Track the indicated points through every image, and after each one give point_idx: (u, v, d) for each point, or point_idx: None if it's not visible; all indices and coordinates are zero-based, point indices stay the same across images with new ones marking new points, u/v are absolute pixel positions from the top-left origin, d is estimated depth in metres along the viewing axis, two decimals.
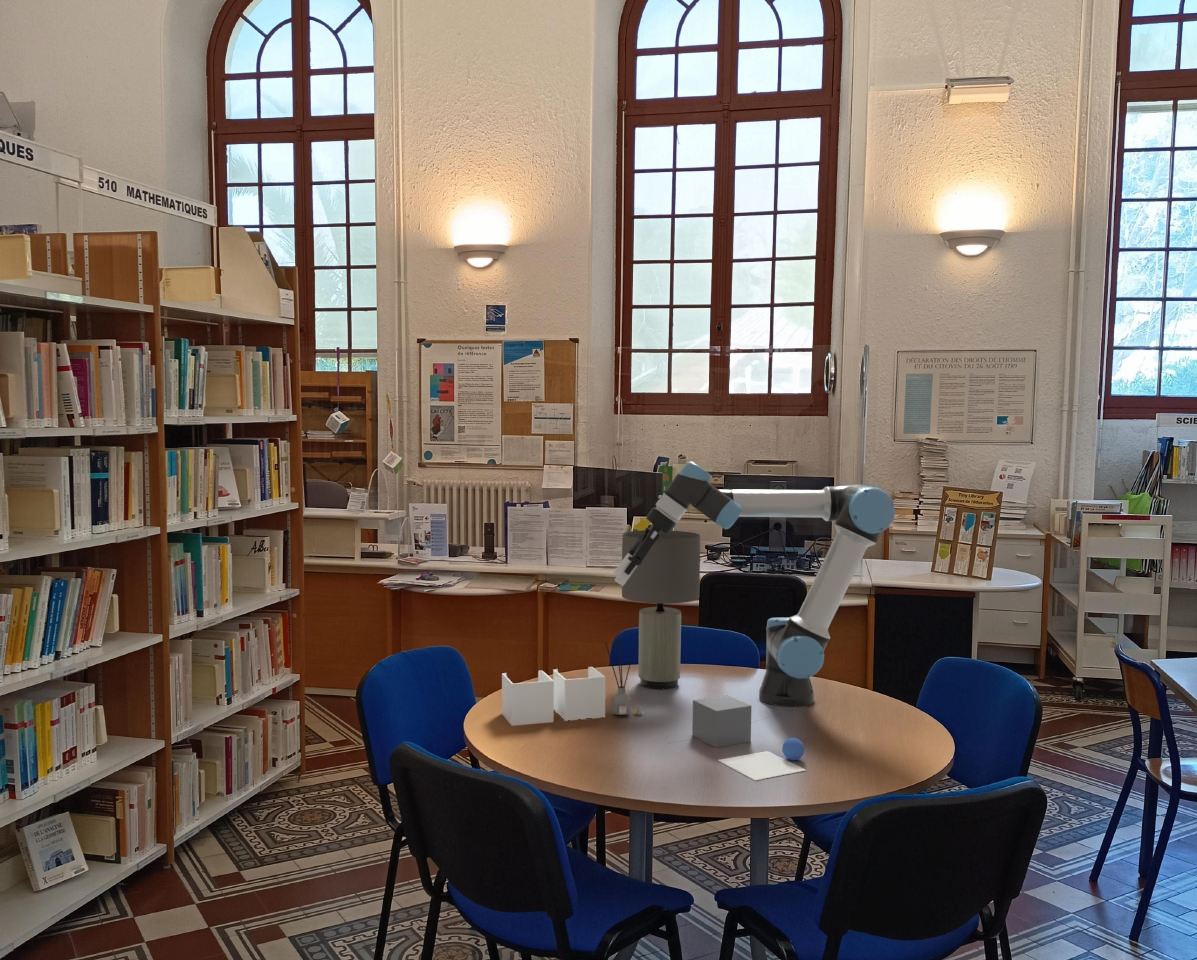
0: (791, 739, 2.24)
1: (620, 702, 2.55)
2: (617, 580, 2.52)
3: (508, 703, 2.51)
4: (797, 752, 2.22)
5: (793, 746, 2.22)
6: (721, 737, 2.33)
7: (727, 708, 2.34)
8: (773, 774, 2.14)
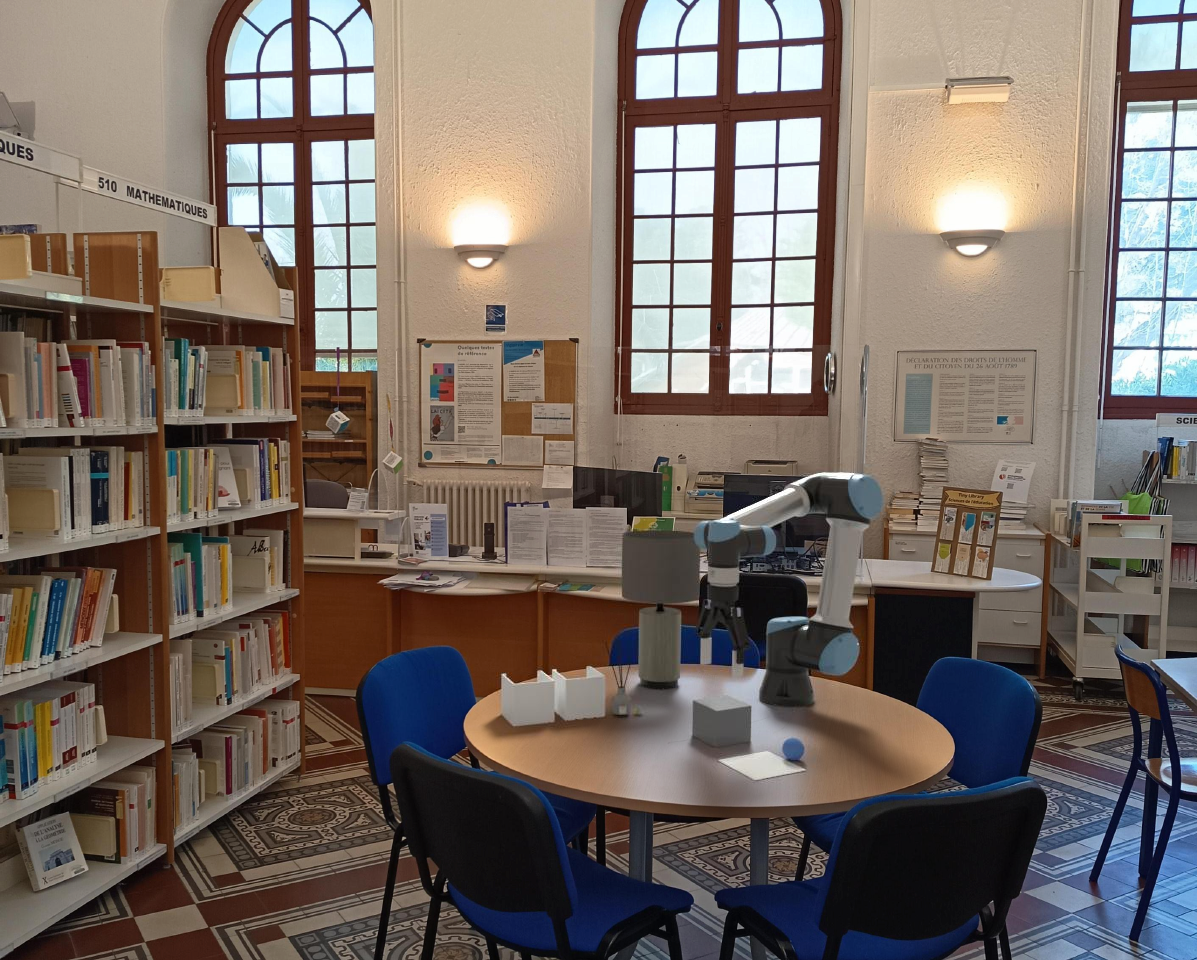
0: (791, 739, 2.24)
1: (620, 702, 2.55)
2: (736, 675, 2.32)
3: (509, 704, 2.50)
4: (797, 752, 2.22)
5: (793, 746, 2.22)
6: (721, 737, 2.33)
7: (727, 708, 2.34)
8: (773, 774, 2.14)
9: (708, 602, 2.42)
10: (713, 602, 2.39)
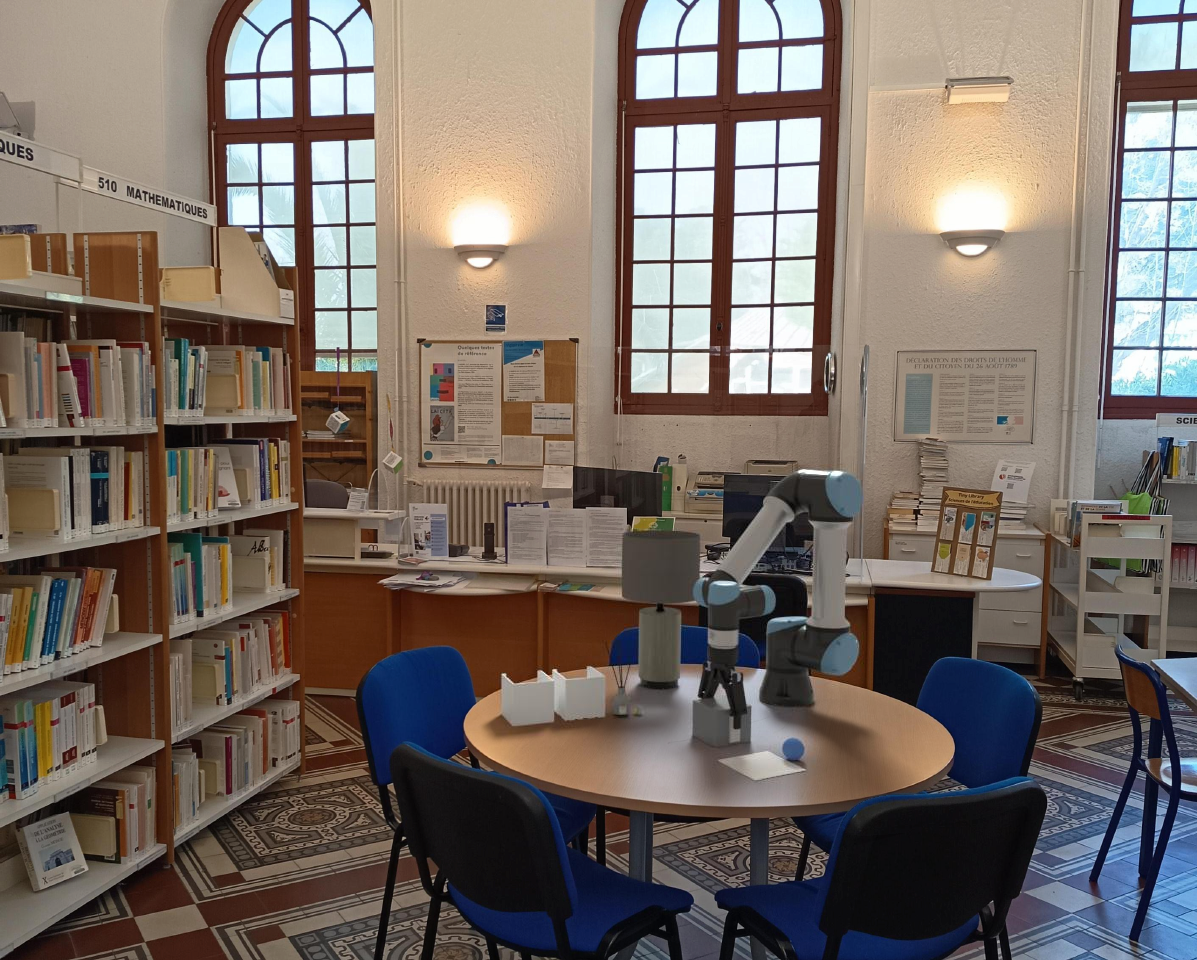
0: (791, 739, 2.24)
1: (620, 702, 2.55)
2: (733, 740, 2.34)
3: (509, 703, 2.51)
4: (797, 752, 2.22)
5: (793, 746, 2.22)
6: (721, 737, 2.33)
7: (727, 708, 2.34)
8: (773, 774, 2.14)
9: (708, 664, 2.43)
10: (713, 662, 2.40)
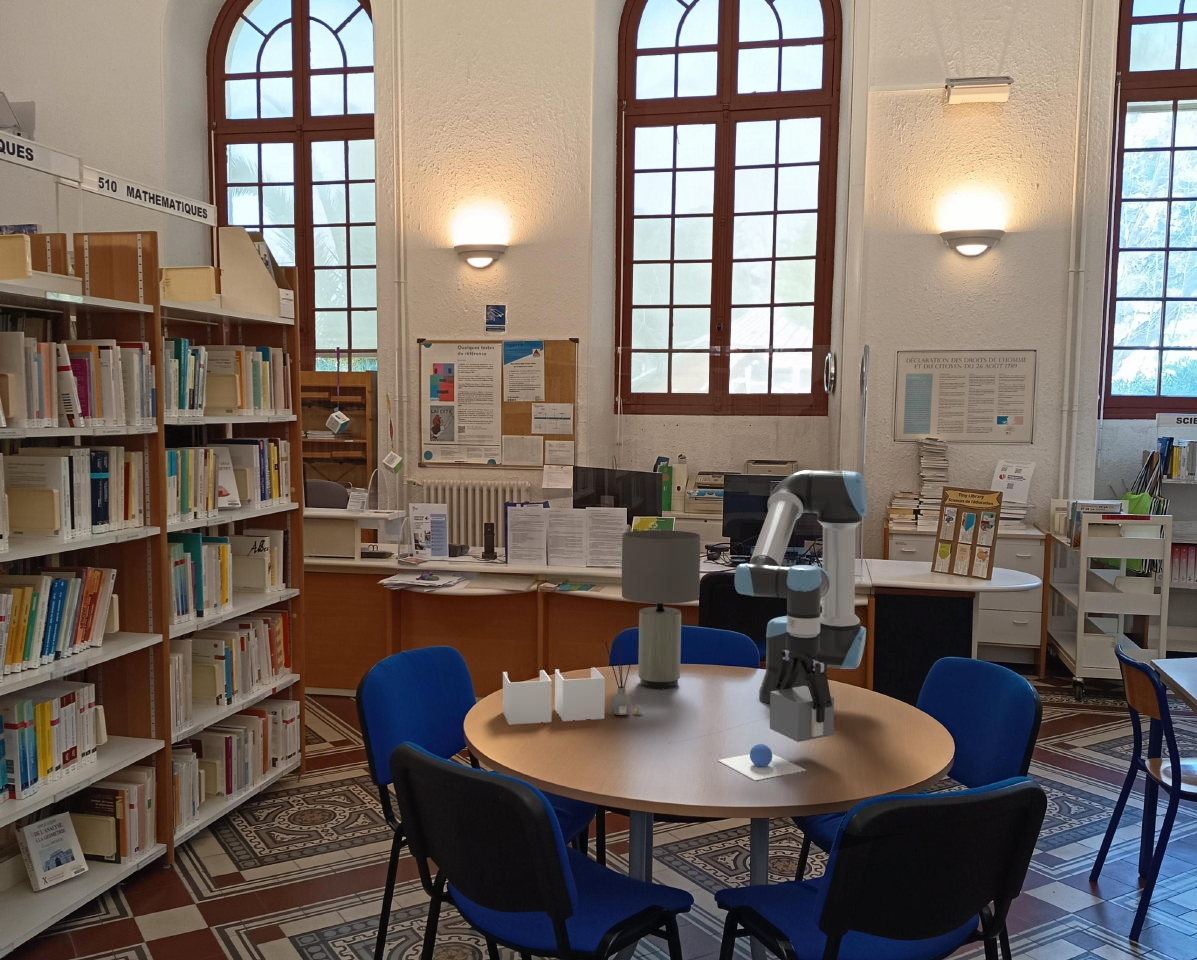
0: None
1: (620, 702, 2.55)
2: (816, 734, 2.20)
3: (506, 702, 2.52)
4: (770, 756, 2.18)
5: (771, 759, 2.19)
6: (803, 731, 2.19)
7: (809, 700, 2.20)
8: (773, 774, 2.14)
9: (786, 653, 2.29)
10: (792, 652, 2.26)
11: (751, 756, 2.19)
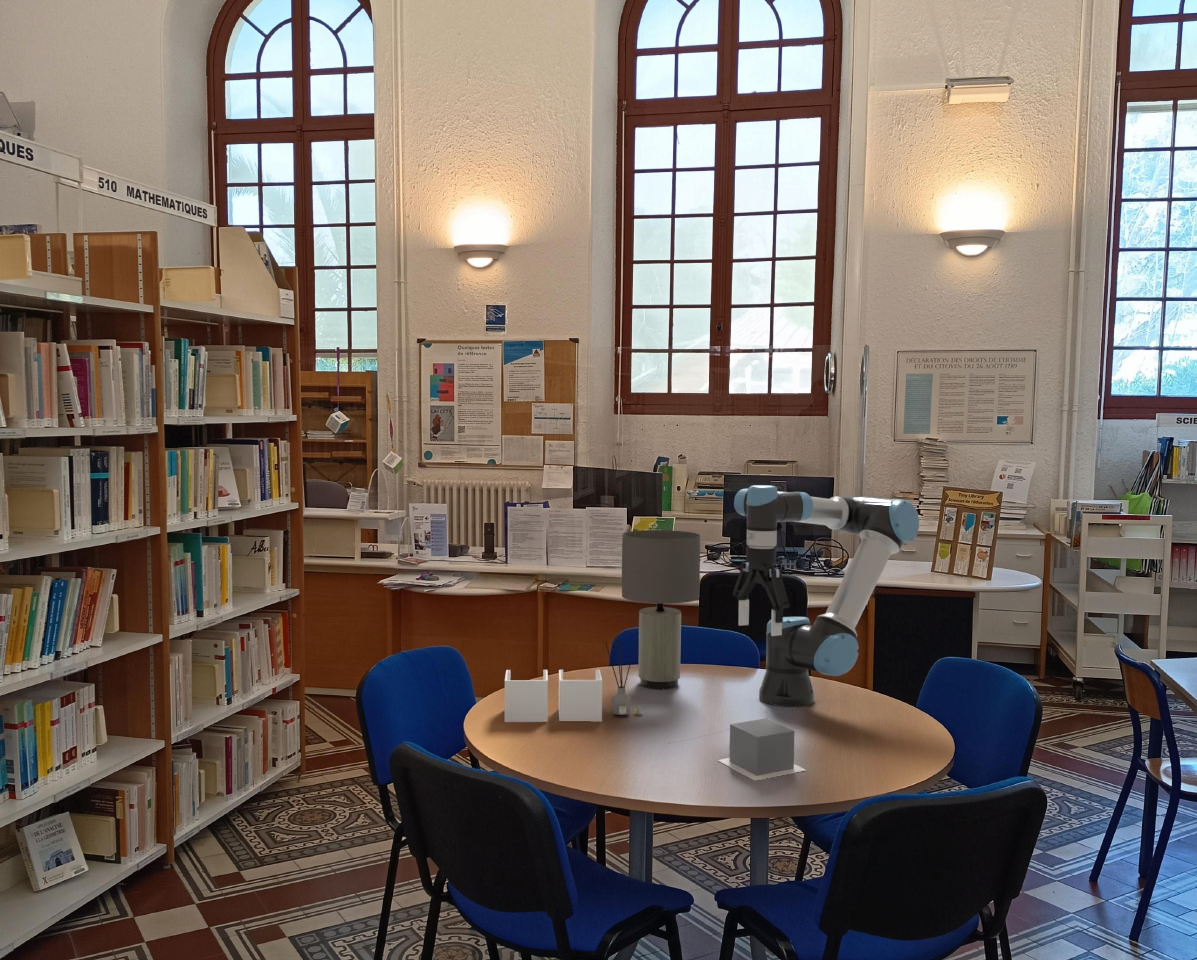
0: None
1: (620, 702, 2.55)
2: (775, 633, 2.41)
3: None
4: None
5: None
6: (762, 765, 2.14)
7: (768, 734, 2.15)
8: (773, 774, 2.14)
9: (746, 565, 2.52)
10: (751, 565, 2.49)
11: None
